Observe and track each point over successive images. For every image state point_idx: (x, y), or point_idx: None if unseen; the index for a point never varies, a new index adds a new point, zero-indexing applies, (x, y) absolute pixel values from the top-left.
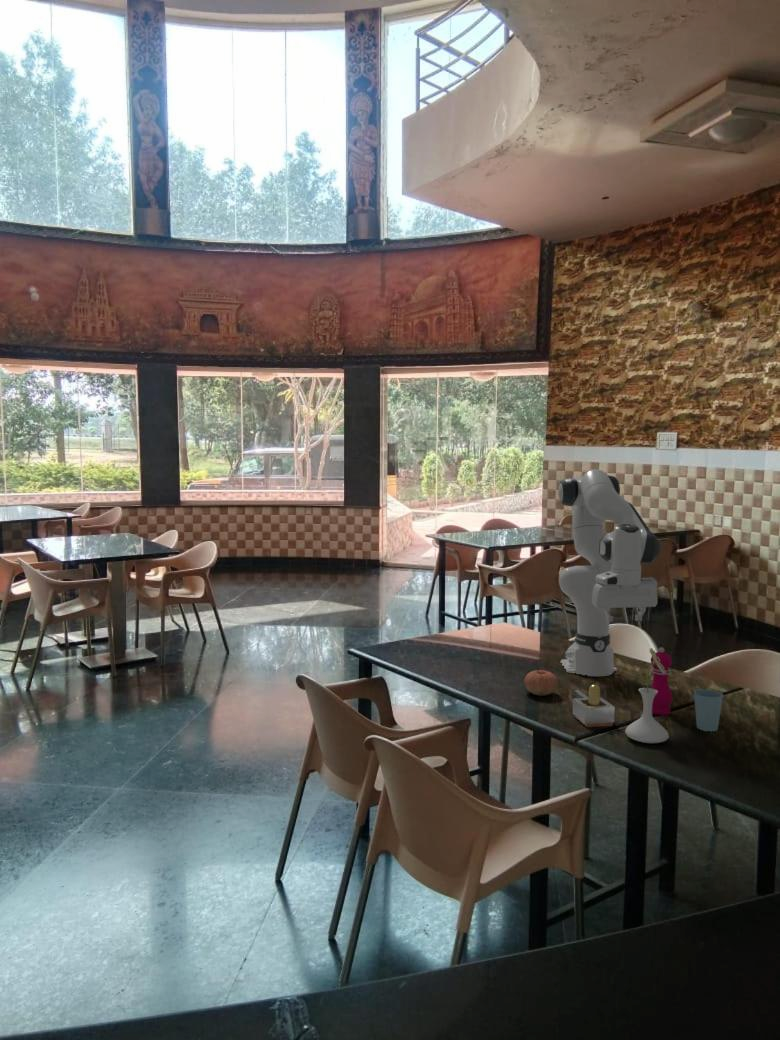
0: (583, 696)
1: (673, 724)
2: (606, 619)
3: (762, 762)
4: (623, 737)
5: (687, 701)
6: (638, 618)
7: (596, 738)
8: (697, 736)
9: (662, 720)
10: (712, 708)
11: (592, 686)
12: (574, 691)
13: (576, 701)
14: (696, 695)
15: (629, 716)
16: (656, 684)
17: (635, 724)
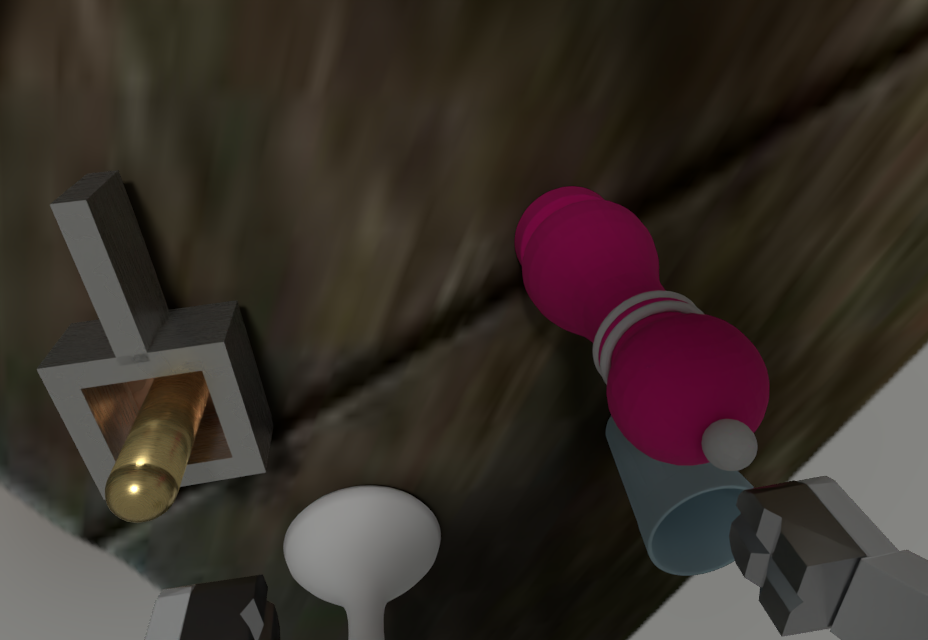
0: (110, 328)
1: (538, 389)
2: (157, 612)
3: (622, 626)
4: (281, 517)
5: (805, 69)
6: (769, 592)
7: (169, 533)
8: (559, 489)
9: (516, 348)
10: (668, 531)
11: (119, 516)
12: (55, 209)
13: (59, 411)
14: (645, 541)
15: (385, 303)
16: (580, 330)
17: (315, 585)
